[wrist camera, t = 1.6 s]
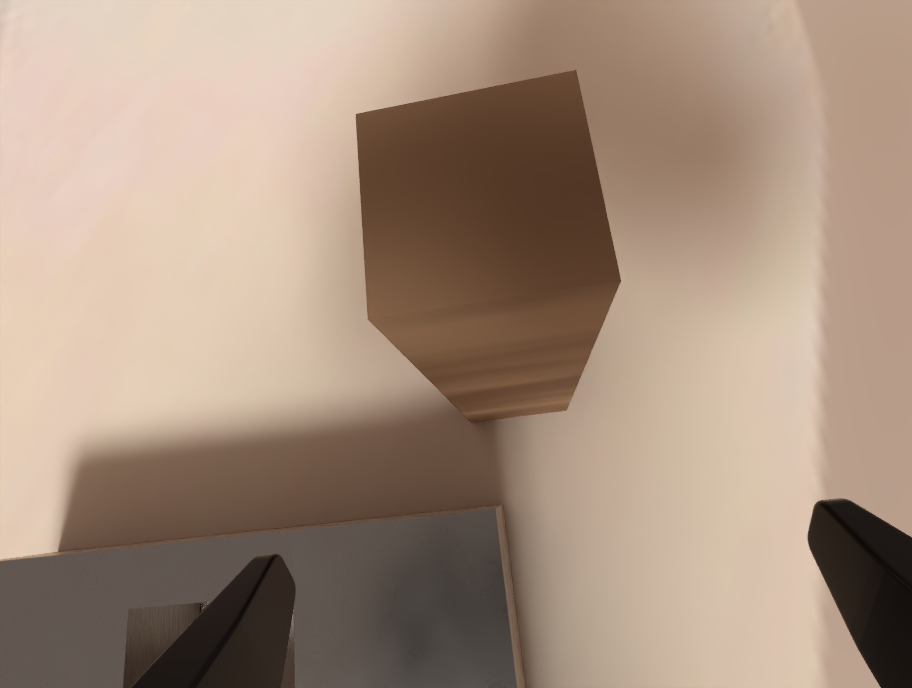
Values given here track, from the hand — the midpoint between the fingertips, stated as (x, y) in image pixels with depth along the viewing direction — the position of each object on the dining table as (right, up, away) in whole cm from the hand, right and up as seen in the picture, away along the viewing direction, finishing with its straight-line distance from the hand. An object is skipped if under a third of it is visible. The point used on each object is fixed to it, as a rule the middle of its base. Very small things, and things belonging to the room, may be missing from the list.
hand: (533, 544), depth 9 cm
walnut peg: (+1, +2, +13) cm, 14 cm away
